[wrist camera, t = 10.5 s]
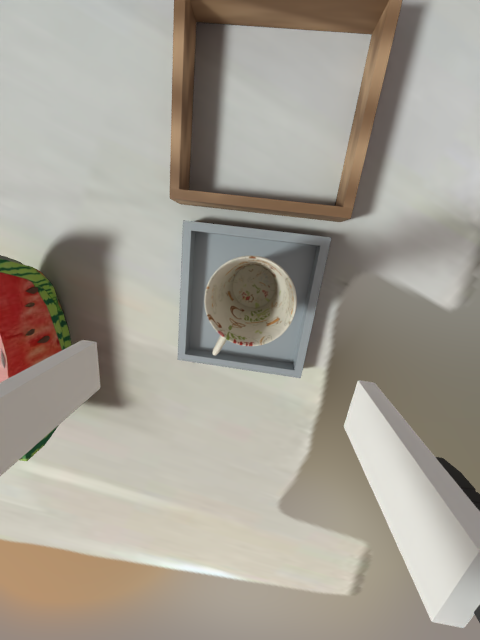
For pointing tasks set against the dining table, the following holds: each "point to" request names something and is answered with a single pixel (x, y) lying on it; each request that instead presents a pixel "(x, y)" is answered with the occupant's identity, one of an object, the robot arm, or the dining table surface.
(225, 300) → the mug
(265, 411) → the dining table surface
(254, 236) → the tray
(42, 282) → the fruit slice
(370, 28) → the corral
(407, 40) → the dining table surface
